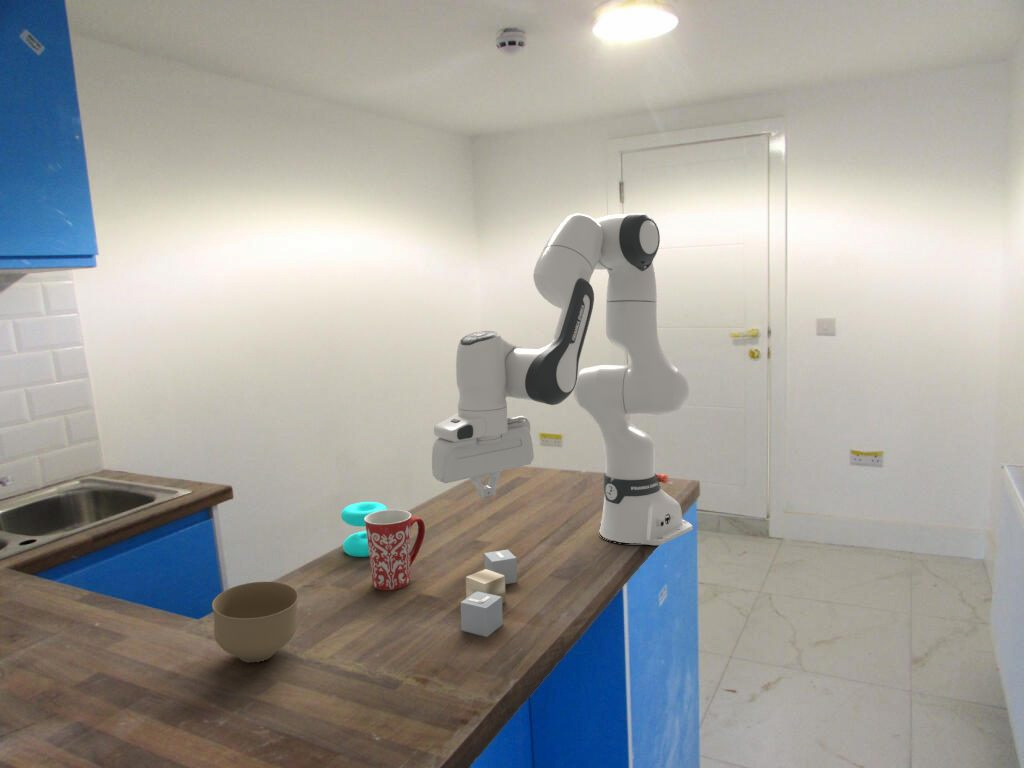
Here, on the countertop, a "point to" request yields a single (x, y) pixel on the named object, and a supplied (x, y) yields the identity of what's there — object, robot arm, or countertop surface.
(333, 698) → the countertop surface
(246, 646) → the bowl
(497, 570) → the grey block
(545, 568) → the countertop surface
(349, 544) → the donuts
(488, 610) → the grey block
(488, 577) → the maple block
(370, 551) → the mug
